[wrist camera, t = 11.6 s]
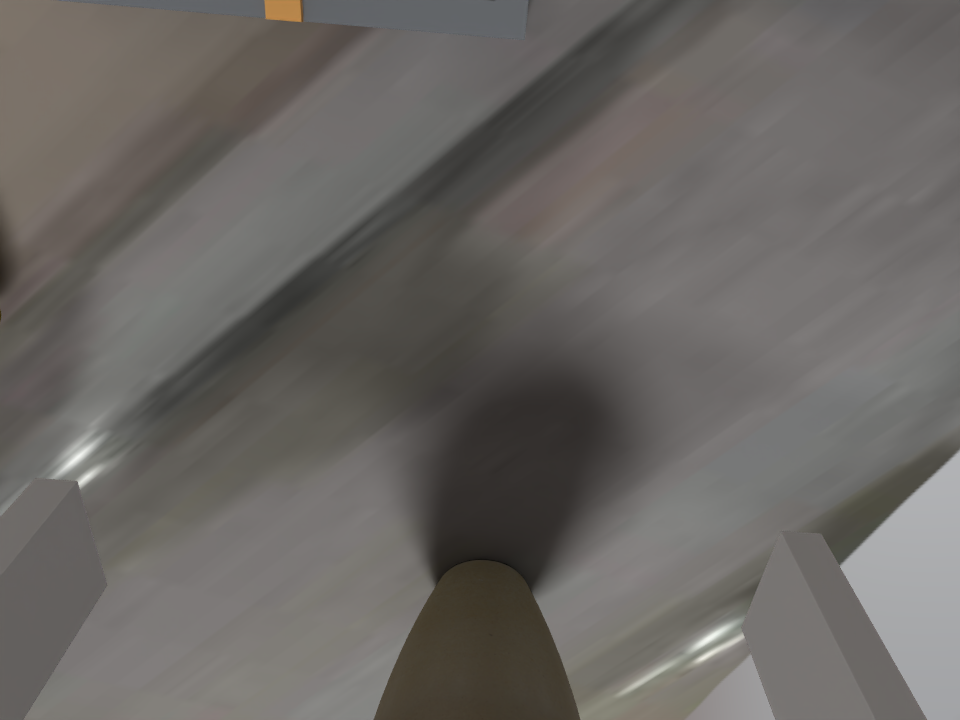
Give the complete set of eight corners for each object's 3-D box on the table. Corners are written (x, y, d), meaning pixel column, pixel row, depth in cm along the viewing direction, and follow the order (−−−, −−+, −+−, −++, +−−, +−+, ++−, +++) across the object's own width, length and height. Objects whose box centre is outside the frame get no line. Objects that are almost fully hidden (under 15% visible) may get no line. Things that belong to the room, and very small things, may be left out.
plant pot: (440, 496, 50) (419, 698, 36) (608, 567, 53) (647, 777, 40) (359, 614, 57) (316, 822, 43) (513, 670, 60) (519, 880, 46)
